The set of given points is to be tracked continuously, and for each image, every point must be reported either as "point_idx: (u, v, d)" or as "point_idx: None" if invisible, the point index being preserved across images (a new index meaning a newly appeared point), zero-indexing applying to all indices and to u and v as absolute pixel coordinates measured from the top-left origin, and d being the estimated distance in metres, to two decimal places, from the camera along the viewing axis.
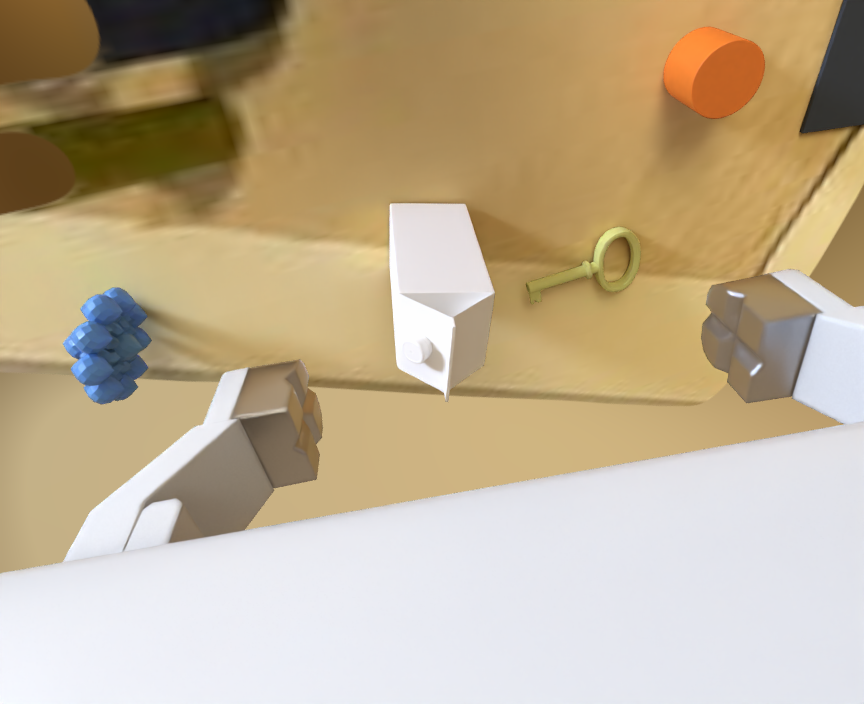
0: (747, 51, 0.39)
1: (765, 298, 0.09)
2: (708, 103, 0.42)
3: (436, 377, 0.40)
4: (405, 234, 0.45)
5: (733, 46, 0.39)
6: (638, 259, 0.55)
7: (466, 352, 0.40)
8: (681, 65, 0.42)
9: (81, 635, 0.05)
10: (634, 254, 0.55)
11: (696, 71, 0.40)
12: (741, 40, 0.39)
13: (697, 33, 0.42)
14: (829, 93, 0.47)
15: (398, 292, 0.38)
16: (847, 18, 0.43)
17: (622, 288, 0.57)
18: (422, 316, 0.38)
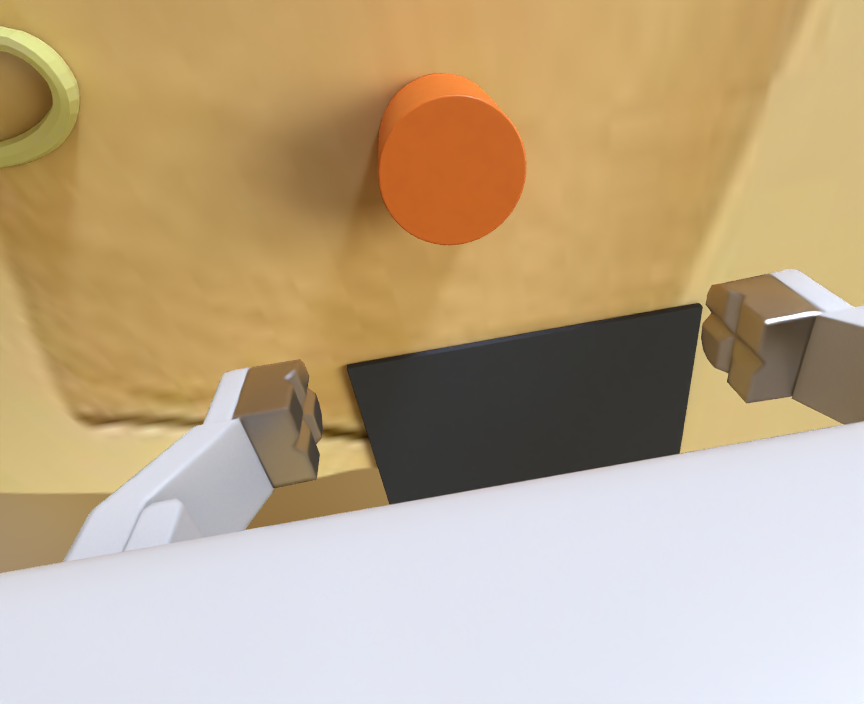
0: (505, 193, 0.20)
1: (765, 298, 0.09)
2: (409, 152, 0.19)
3: None
4: None
5: (515, 160, 0.20)
6: (10, 159, 0.22)
7: None
8: (459, 84, 0.20)
9: (81, 635, 0.05)
10: (19, 144, 0.22)
11: (470, 95, 0.18)
12: (524, 171, 0.20)
13: None
14: (407, 376, 0.31)
15: None
16: (505, 348, 0.30)
17: None
18: None
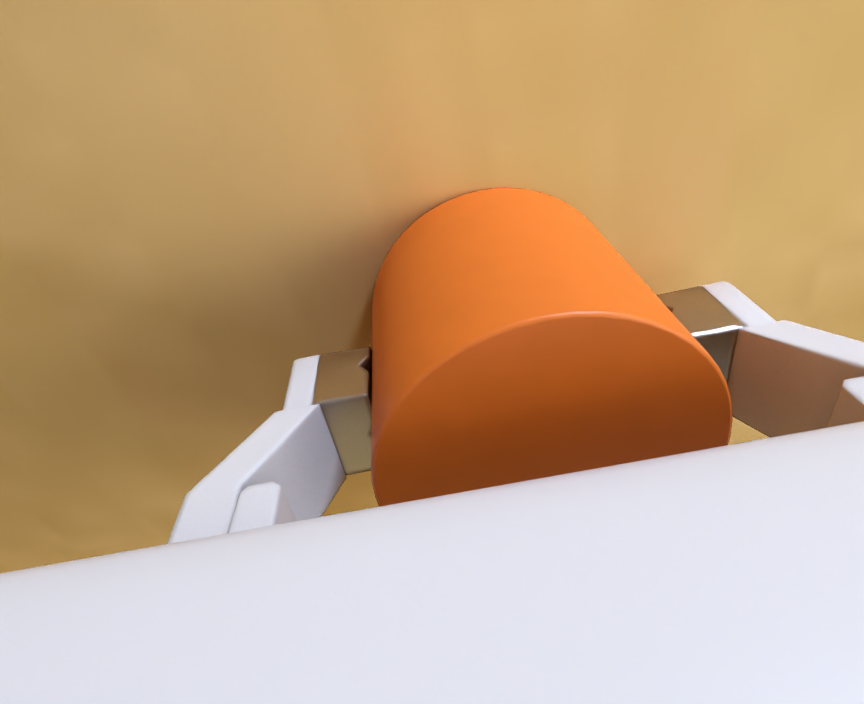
0: None
1: (692, 311, 0.09)
2: (449, 433, 0.08)
3: None
4: None
5: (706, 436, 0.08)
6: None
7: None
8: (559, 235, 0.09)
9: (81, 635, 0.05)
10: None
11: (620, 310, 0.07)
12: None
13: None
14: None
15: None
16: None
17: None
18: None
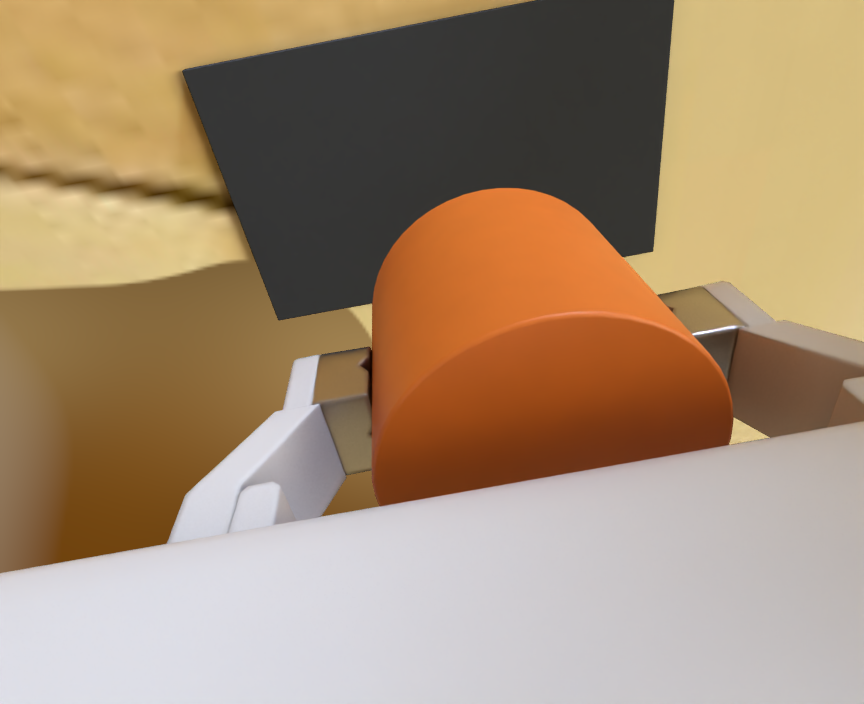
0: None
1: (693, 311, 0.09)
2: (449, 433, 0.08)
3: None
4: None
5: (707, 435, 0.08)
6: None
7: None
8: (560, 235, 0.09)
9: (81, 635, 0.05)
10: None
11: (621, 311, 0.07)
12: None
13: None
14: (270, 89, 0.22)
15: None
16: (403, 43, 0.22)
17: None
18: None
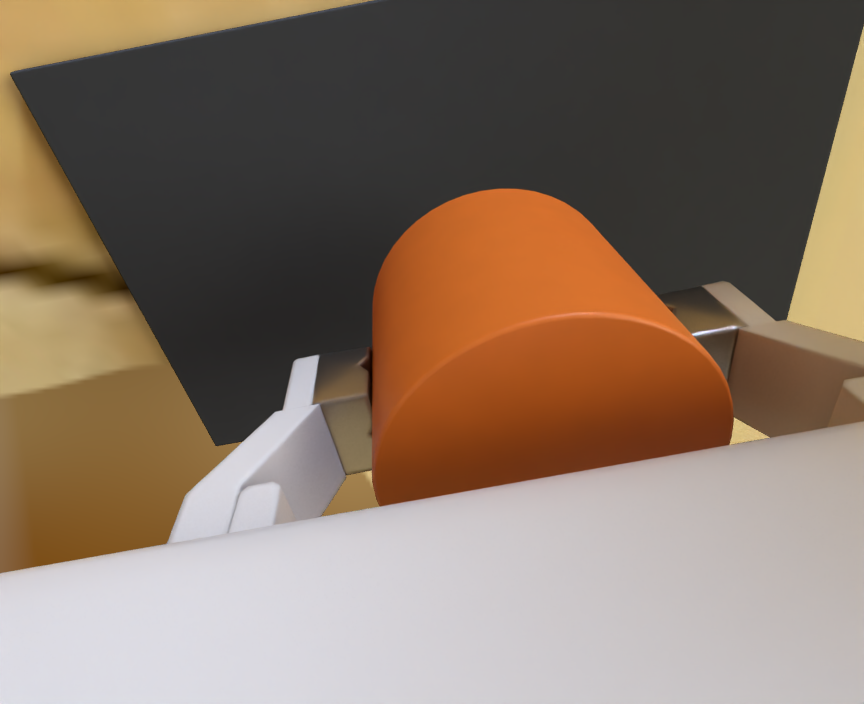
0: None
1: (693, 311, 0.09)
2: (450, 434, 0.08)
3: None
4: None
5: (707, 436, 0.08)
6: None
7: None
8: (560, 237, 0.09)
9: (81, 635, 0.05)
10: None
11: (622, 312, 0.07)
12: None
13: None
14: (172, 106, 0.13)
15: None
16: (403, 24, 0.12)
17: None
18: None
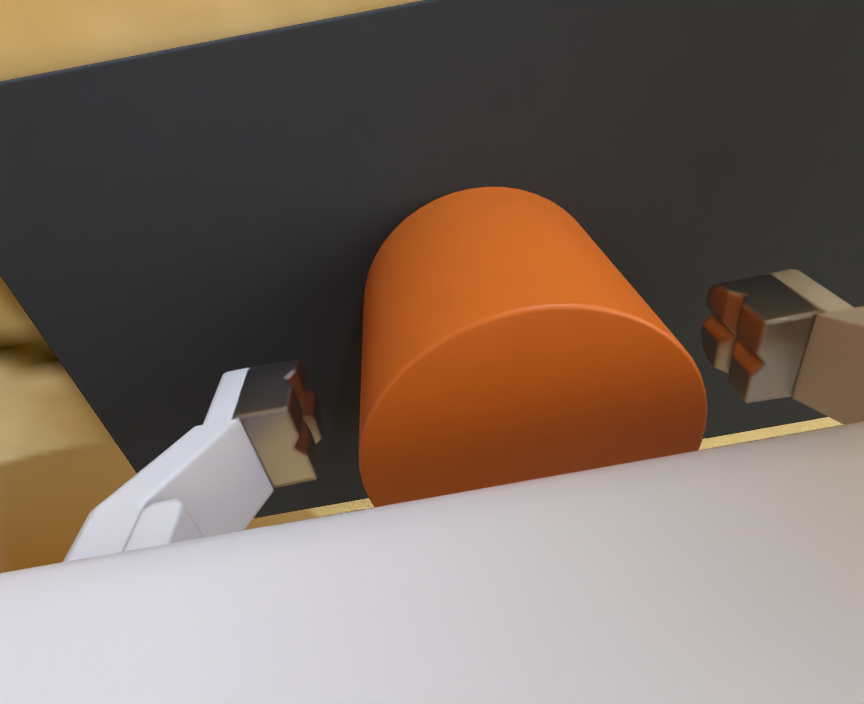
0: None
1: (765, 298, 0.09)
2: (433, 422, 0.08)
3: None
4: None
5: (682, 425, 0.08)
6: None
7: None
8: (543, 233, 0.09)
9: (81, 635, 0.05)
10: None
11: (596, 304, 0.07)
12: (698, 442, 0.09)
13: None
14: (101, 146, 0.10)
15: None
16: (397, 43, 0.09)
17: None
18: None
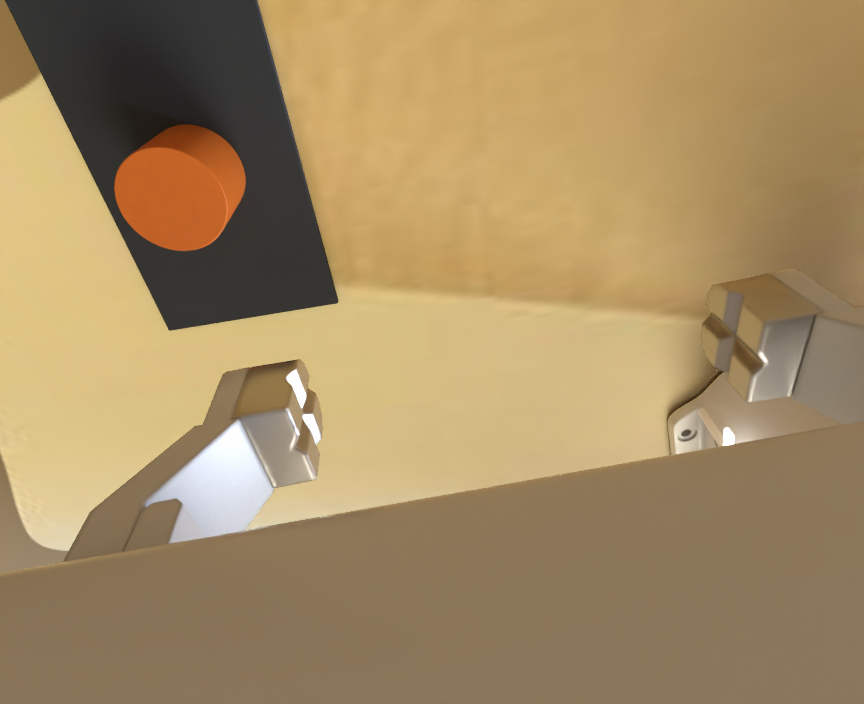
0: (168, 238, 0.29)
1: (765, 298, 0.09)
2: (181, 170, 0.27)
3: None
4: None
5: (192, 243, 0.29)
6: None
7: None
8: (237, 194, 0.30)
9: (81, 635, 0.05)
10: None
11: (228, 211, 0.28)
12: (185, 250, 0.29)
13: None
14: (238, 31, 0.28)
15: None
16: (284, 142, 0.31)
17: None
18: None
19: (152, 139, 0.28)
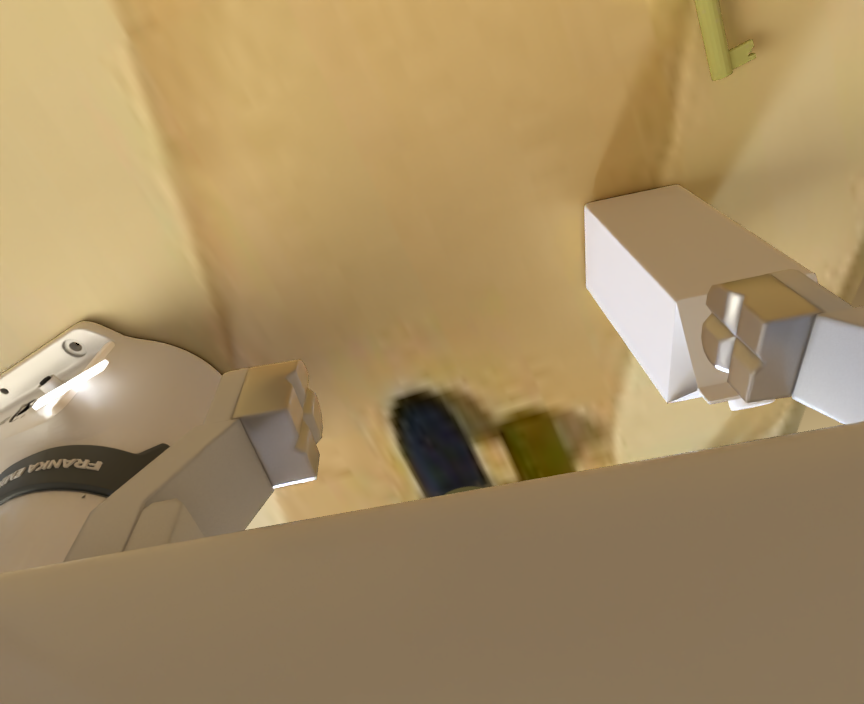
0: None
1: (765, 298, 0.09)
2: None
3: None
4: (612, 314, 0.38)
5: None
6: None
7: None
8: None
9: (81, 635, 0.05)
10: None
11: None
12: None
13: None
14: None
15: None
16: None
17: None
18: (699, 394, 0.29)
19: None
